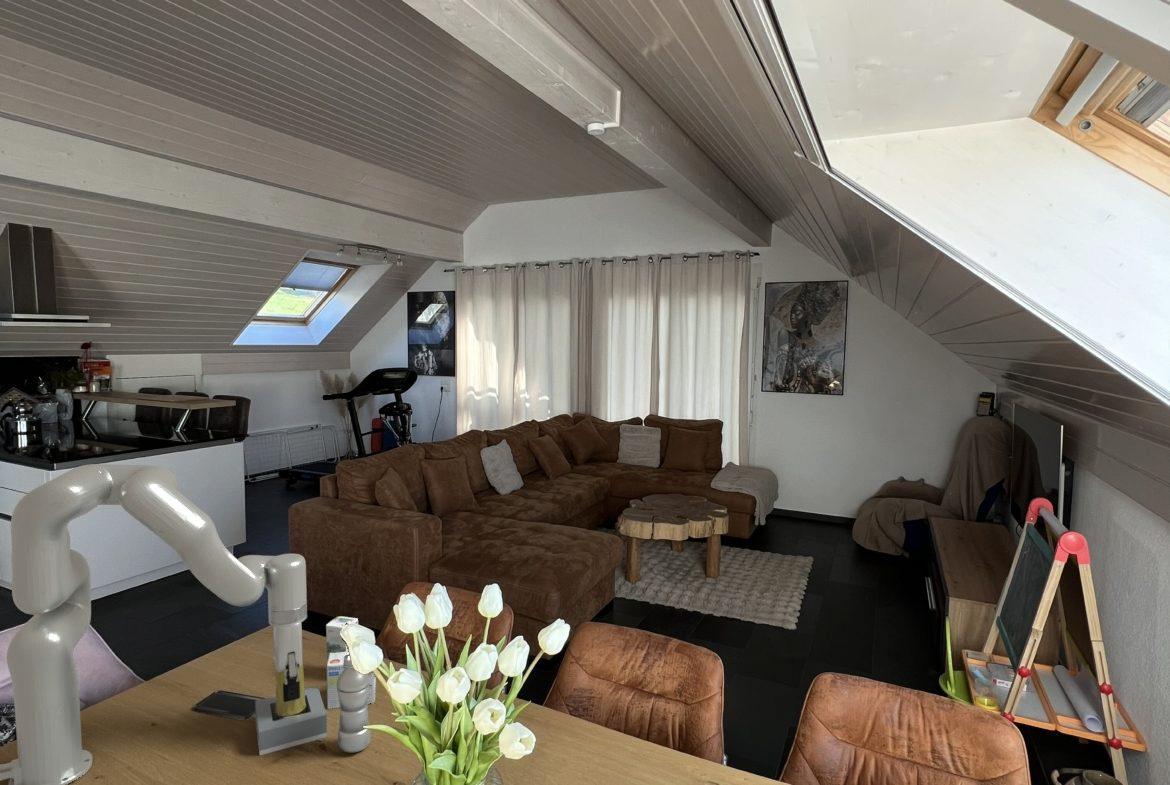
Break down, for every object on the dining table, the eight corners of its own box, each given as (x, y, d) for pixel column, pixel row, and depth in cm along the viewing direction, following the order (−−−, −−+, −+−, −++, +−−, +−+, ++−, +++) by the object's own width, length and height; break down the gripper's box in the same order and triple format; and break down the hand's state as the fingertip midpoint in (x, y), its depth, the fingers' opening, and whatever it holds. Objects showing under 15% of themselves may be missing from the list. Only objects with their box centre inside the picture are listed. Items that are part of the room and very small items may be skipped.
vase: (269, 710, 141) (267, 648, 140) (296, 698, 146) (294, 637, 145) (285, 720, 138) (283, 656, 136) (311, 707, 143) (310, 645, 141)
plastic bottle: (368, 756, 134) (367, 663, 132) (334, 758, 133) (332, 665, 131) (373, 736, 140) (372, 648, 138) (340, 739, 139) (339, 649, 137)
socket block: (259, 755, 133) (259, 732, 133) (255, 722, 144) (255, 700, 144) (326, 736, 140) (326, 714, 139) (318, 706, 151) (317, 686, 151)
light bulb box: (376, 688, 159) (375, 646, 158) (375, 704, 153) (374, 660, 152) (329, 694, 156) (329, 651, 155) (326, 710, 150) (325, 665, 149)
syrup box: (359, 671, 167) (359, 617, 166) (346, 683, 161) (345, 627, 160) (340, 668, 168) (339, 614, 167) (326, 680, 162) (325, 624, 161)
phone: (217, 689, 156) (271, 698, 152) (217, 694, 156) (271, 703, 153) (190, 707, 148) (246, 717, 145) (190, 712, 148) (246, 722, 145)
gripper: (265, 601, 145) (268, 678, 147) (272, 632, 130) (274, 717, 132) (301, 595, 149) (303, 670, 151) (312, 624, 134) (314, 707, 136)
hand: (290, 691), depth 141 cm, fingers closed on vase, 5 cm apart
